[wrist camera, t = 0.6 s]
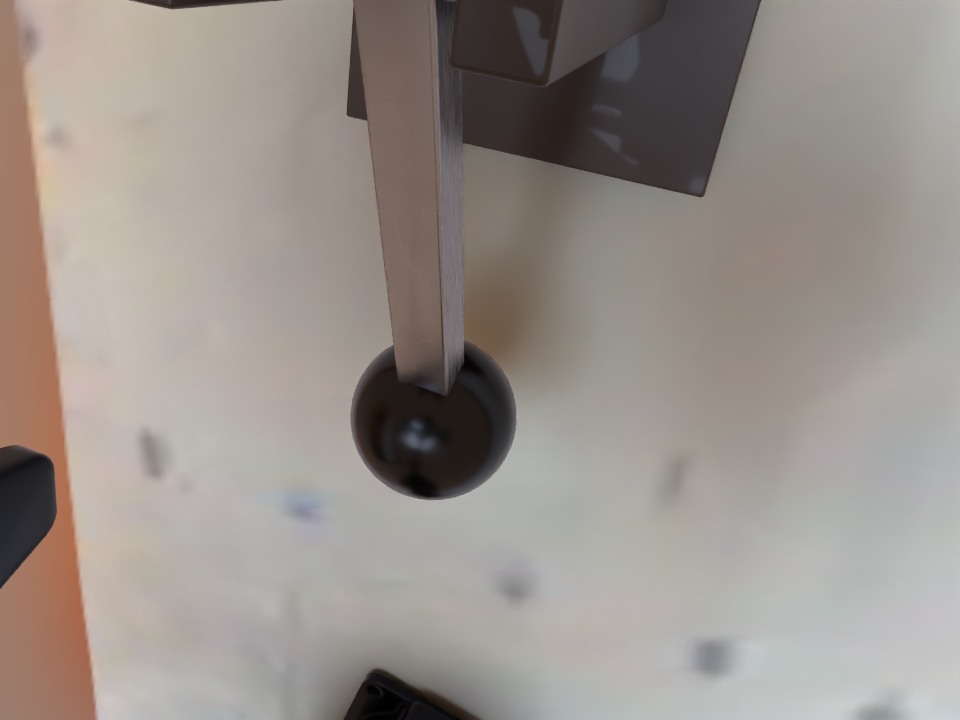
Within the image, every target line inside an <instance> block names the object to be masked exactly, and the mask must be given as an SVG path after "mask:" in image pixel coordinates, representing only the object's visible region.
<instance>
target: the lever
mask: <svg viewBox="0 0 960 720" xmlns="http://www.w3.org/2000/svg"><path fill="white" fill-rule="evenodd" d="M353 1H354V10H355V18H356V27H357V35H358V44H359V52H360V61H361V69H362V78H363V87H364V95H365V104H366V112H367V121H368V129H369V138H370V146H371V155H372V164H373V172H374V181H375V189H376V198H377V206H378V215H379V223H380V232H381V241H382V249H383V258H384V266H385V275H386V283H387V292H388V300H389V309H390V318H391V326H392V335H393V343H394V345H392V346H390V347H389V348H387V349H386V350H384V351H383V352H382V353H381V354H379V355H378V356H377V357H376V358H375V359H374V360H373V361H372V362H371V363H370V365H369V366H368V367H367V369H366V370H365V372H364V373H363V375H362V376H361V378H360V380H359V382H358V385H357V387H356V389H355V392H354V396H353V399H352V407H351V429H352V435H353V439H354V442H355V445H356V448H357V451H358V453H359V455H360V457H361V458H362V460H363V462H364V463H365V465H366V466H367V468H368V469H369V470H370V471H371V472H372V473H373V475H374V476H375V477H376V478H377V479H379V480H380V481H381V482H382V483H384V484H385V485H386V486H388V487H389V488H391V489H393V490H395V491H396V492H399V493H401V494H403V495H406V496H409V497H413V498H417V499H423V500H443V499H449V498H454V497H458V496H460V495H463V494H466V493H468V492H470V491H472V490H474V489H475V488H477V487H479V486H480V485H482V484H483V483H484V482H485V481H487V480H488V479H489V478H490V477H491V476H492V475H493V474H494V473H495V472H496V471H497V470H498V468H499V467H500V466H501V464H502V463H503V461H504V460H505V458H506V456H507V454H508V452H509V450H510V448H511V445H512V442H513V439H514V435H515V429H516V404H515V399H514V394H513V391H512V389H511V386H510V383H509V381H508V379H507V377H506V376H505V374H504V372H503V371H502V369H501V368H500V366H499V365H498V364H497V363H496V362H495V361H494V360H493V358H492V357H491V356H489V355H488V354H487V353H486V352H485V351H483V350H482V349H481V348H479V347H478V346H476V345H474V344H472V343H470V342H468V341H466V340H464V288H463V153H462V70H457V69H454V68H453V67H452V66H450V61H449V60H450V52H451V44H452V36H453V28H454V19H455V11H456V3H457V0H353Z"/></svg>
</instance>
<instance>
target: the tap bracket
mask: <svg viewBox="0 0 960 720" xmlns="http://www.w3.org/2000/svg"><path fill="white" fill-rule="evenodd" d="M130 1H135V2H140V3H144V4H149V5H154V6H159V7H163V8H168V9H183V8H195V7H207V6H220V5H232V4H244V3H256V2H268V1H280V0H130ZM760 2H761V0H457V3H456V11H455V19H454V28H453V36H452V44H451V52H450V60H449V61H450V66H452V67H453V68H454V69H457V70H462V143H466V144H471V145H475V146H479V147H484V148H488V149H493V150H497V151H501V152H506V153H510V154H514V155H519V156H523V157H527V158H532V159H536V160H540V161H545V162H549V163H553V164H558V165H562V166H566V167H571V168H575V169H579V170H584V171H588V172H592V173H597V174H601V175H606V176H610V177H614V178H619V179H623V180H627V181H632V182H636V183H640V184H645V185H649V186H653V187H658V188H662V189H666V190H671V191H675V192H679V193H684V194H688V195H692V196H697V197H703V196H704V194H705V190H706V187H707V183H708V180H709V177H710V173H711V170H712V166H713V163H714V159H715V156H716V153H717V149H718V146H719V142H720V139H721V135H722V132H723V129H724V125H725V122H726V118H727V115H728V111H729V108H730V105H731V101H732V98H733V94H734V91H735V87H736V84H737V81H738V77H739V74H740V70H741V67H742V63H743V60H744V57H745V53H746V50H747V46H748V43H749V39H750V36H751V33H752V29H753V26H754V22H755V19H756V15H757V12H758V9H759V5H760ZM347 116H349V117H353V118H358V119H362V120H366V121H367V112H366V104H365V95H364V87H363V78H362V69H361V61H360V52H359V44H358V35H357V27H356V18H355V10H354V8H353V24H352V39H351V55H350V70H349V85H348V101H347Z"/></svg>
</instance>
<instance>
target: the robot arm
mask: <svg viewBox="0 0 960 720" xmlns="http://www.w3.org/2000/svg"><path fill="white" fill-rule="evenodd" d="M56 513H57V504H56V488H55V472H54V465H53V462H52V461H51V459H50V458H49V457H48V456H46V455H44V454H42V453H39V452H36V451H34V450H31V449H28V448H26V447H24V446H19V445H13V446H7V447H3V448H0V589H1V588H2V586H3V585H4V584H5V583H6V582H7V581H8V579H9V578H10V577H11V576H12V575H13V574H14V572H15V571H16V570H17V569H18V568H19V567H20V565H21V564H22V563H23V562H24V561H25V560H26V558H27V557H28V556H29V555H30V554H31V553H32V551H33V550H34V549H35V548H36V547H37V545H38V544H39V543H40V542H41V541H42V540H43V538H44V537H45V536H46V535H47V534H48V532H49V531H50V529H51V527H52V526H53V523H54V521H55V518H56ZM344 720H461V719H459V718H457V717H455V716H454V715H452V714H450V713H449V712H447V711H445V710H443V709H442V708H440V707H438V706H436V705H435V704H433V703H431V702H429V701H428V700H426V699H424V698H422V697H421V696H419V695H417V694H415V693H414V692H412V691H410V690H408V689H407V688H405V687H403V686H402V685H400V684H398V683H396V682H395V681H393V680H391V679H389V678H388V677H386V676H384V675H382V674H380V673H376V672H372V673H369V674H368V675H367V676H366V678H365V680H364V682H363V683H362V685H361V687H360V689H359V691H358V693H357V695H356V697H355V699H354V701H353V702H352V704H351V706H350V708H349V710H348V712H347V714H346V716H345V718H344Z"/></svg>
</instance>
